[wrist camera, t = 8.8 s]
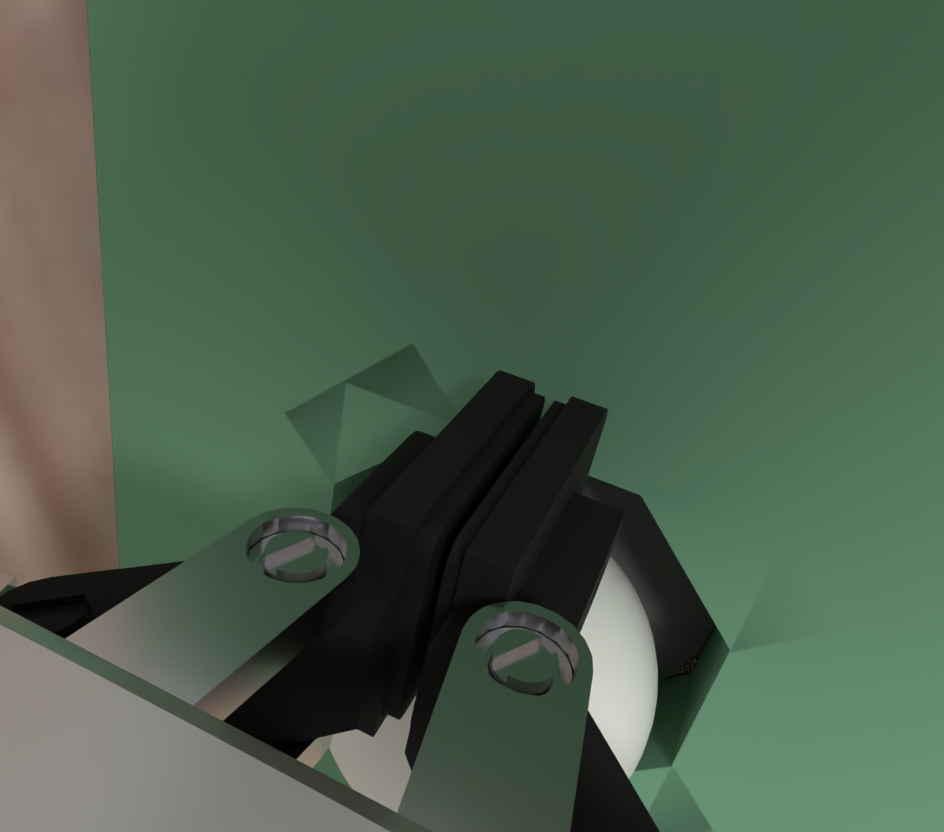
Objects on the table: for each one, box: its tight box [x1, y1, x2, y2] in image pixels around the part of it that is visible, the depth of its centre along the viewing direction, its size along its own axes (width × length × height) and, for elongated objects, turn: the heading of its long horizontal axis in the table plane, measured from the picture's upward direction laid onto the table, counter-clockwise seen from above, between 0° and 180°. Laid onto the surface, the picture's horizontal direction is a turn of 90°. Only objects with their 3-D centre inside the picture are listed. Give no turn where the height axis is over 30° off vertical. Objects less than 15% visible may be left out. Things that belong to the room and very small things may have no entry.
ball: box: [329, 556, 658, 812], centre depth 14 cm, size 6×6×6 cm
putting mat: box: [87, 0, 944, 832], centre depth 13 cm, size 26×18×2 cm
